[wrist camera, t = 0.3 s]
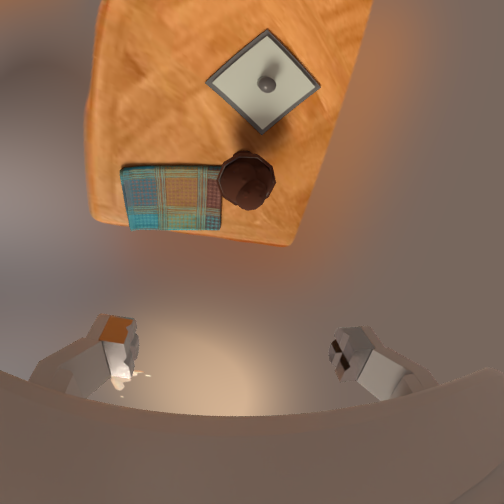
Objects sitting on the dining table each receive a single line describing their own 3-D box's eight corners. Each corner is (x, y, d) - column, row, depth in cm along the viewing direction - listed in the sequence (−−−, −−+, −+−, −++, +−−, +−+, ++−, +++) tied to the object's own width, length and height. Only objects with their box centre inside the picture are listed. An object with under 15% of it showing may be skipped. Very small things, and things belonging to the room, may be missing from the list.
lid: (266, 36, 40) (270, 34, 36) (314, 86, 47) (321, 90, 43) (212, 82, 45) (211, 85, 42) (262, 128, 52) (264, 135, 49)
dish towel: (120, 165, 55) (117, 169, 53) (223, 163, 58) (223, 168, 56) (130, 226, 66) (127, 232, 65) (220, 227, 69) (220, 233, 67)
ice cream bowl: (276, 148, 56) (291, 178, 45) (255, 190, 63) (263, 229, 51) (229, 131, 53) (230, 157, 42) (211, 176, 59) (207, 213, 48)
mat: (266, 29, 39) (267, 29, 39) (320, 87, 47) (320, 87, 47) (205, 82, 45) (204, 82, 45) (261, 134, 54) (261, 135, 53)
